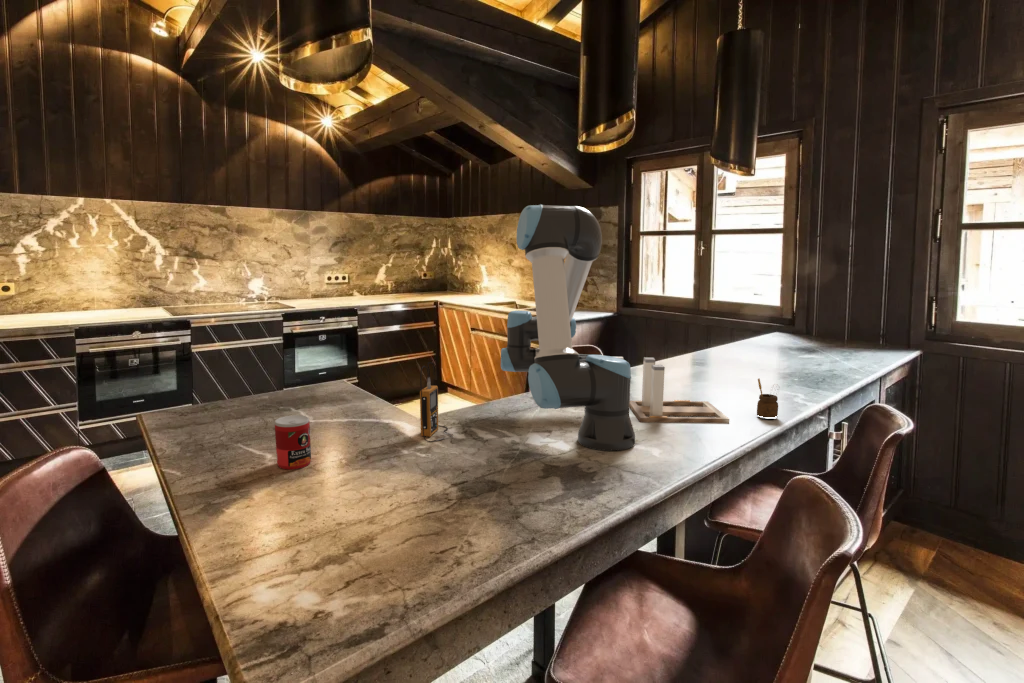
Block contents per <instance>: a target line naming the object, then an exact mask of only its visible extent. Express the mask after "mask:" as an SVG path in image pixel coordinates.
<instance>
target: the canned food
mask: <svg viewBox="0 0 1024 683" xmlns="http://www.w3.org/2000/svg"><path fill="white" fill-rule="evenodd" d="M310 425H311V424H310V418H309V417H308V416H306V415H299V414H293V415H292V414H291V415H286V416H281V417H278V418H277V419H275V420H274V436H275V437H274V438H275V451H276V452H275V453H276V463H277V466H278V467H279V468H280V469H283V470H288V471H289V470H298V469H302V468H306V467H308V466H309V465H310V464H311V460H312V448H311V428H310V427H311V426H310Z"/></svg>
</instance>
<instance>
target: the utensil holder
mask: <svg viewBox="0 0 1024 683" xmlns="http://www.w3.org/2000/svg"><path fill="white" fill-rule="evenodd" d="M757 382H758V383H757V384H758V387H759V390H760V394H759V395H758V401H757V405H756V406H757V407H756V416H757V415H759V416H763V417H775V416H777V415H779V402H778V395H779V392H780V385H779V384H777V383H774V384H772V386H771V388H770V391H769V392H773V393H763V390H762V388H763V387H762V382H761V379H760V378H757ZM775 386H776V387H778V388H776V389H777V391H776V389H774V388H775ZM773 389H774V391H773ZM776 392H777V393H776ZM777 417H778V416H777Z"/></svg>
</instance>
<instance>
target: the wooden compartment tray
mask: <svg viewBox="0 0 1024 683" xmlns="http://www.w3.org/2000/svg"><path fill="white" fill-rule="evenodd" d="M629 409H630V410H631V411H632V412H633V414H634V415H635V416H636V418H637V419H638V421H639V422H640V423H702V424H703V423H704V424H705V423H709V424H711V423H717V424H722V423H723V424H728V425H730V418H729V417H727V415H726V414H724V413H723V412H722V411H720V409H718V408H717V407H716V406H714V405H713V404H712V403H710V401H705V400H704V401H703V400H702V401H697V400H696V401H693V400H687V399H683V400H682V399H681V400H679V399H677V400H676V399H674V400H663V414H662V416H650V406H642V400H630V406H629Z"/></svg>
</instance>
